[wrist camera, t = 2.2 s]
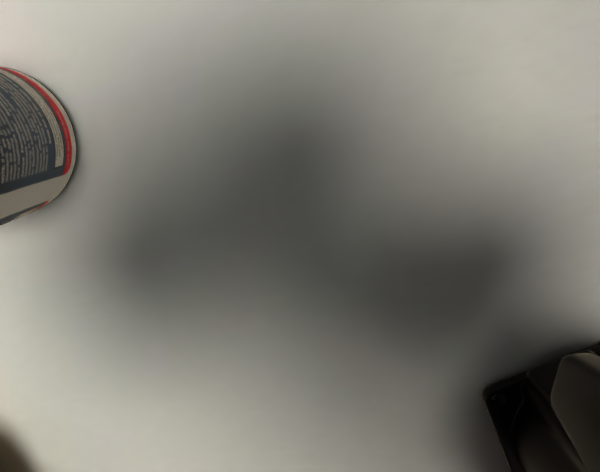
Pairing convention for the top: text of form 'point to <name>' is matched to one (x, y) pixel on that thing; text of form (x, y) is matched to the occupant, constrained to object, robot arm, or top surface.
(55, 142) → the pill bottle
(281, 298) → the top surface
